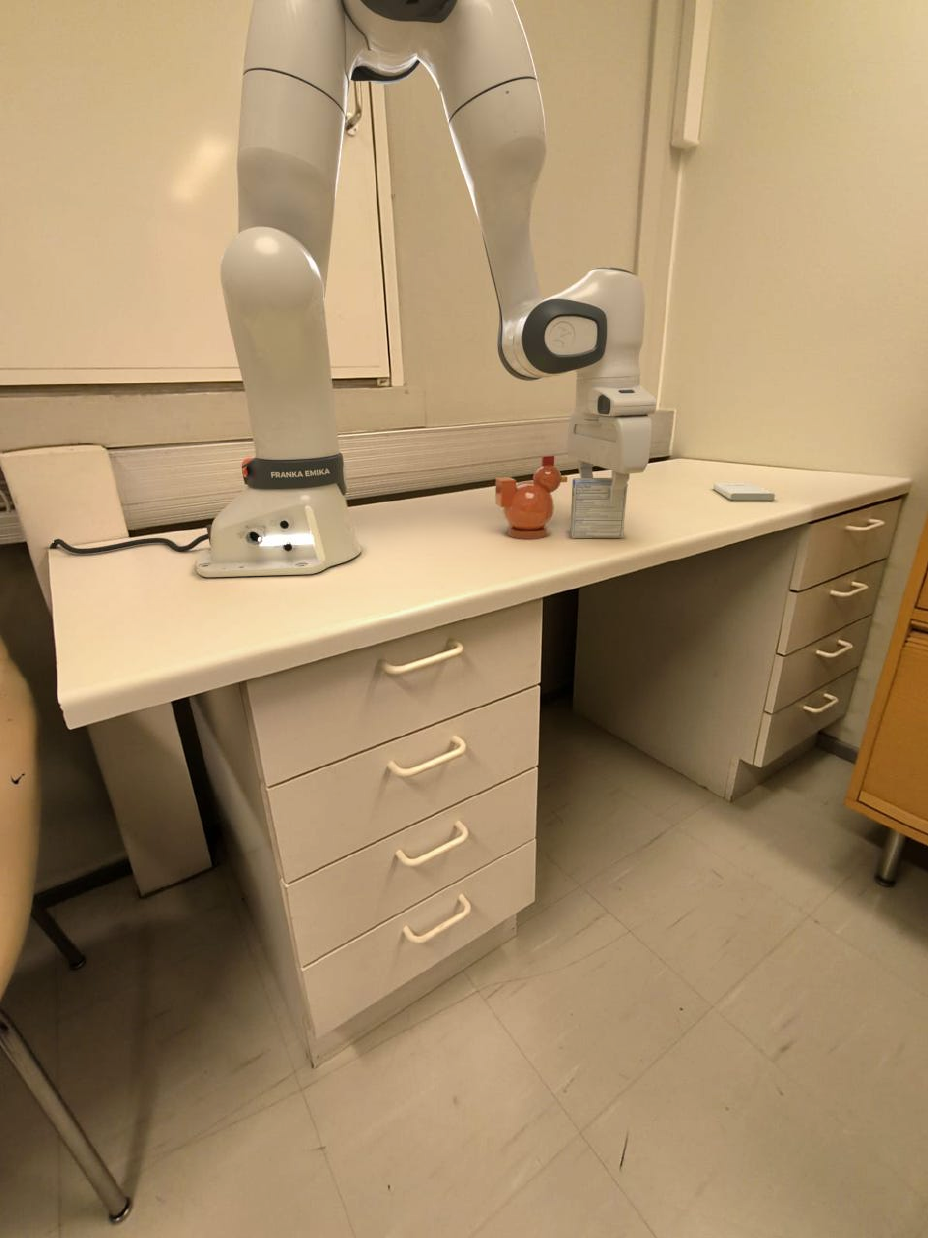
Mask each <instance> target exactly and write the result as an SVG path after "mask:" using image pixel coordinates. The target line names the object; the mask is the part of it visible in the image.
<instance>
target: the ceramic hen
mask: <svg viewBox="0 0 928 1238" xmlns="http://www.w3.org/2000/svg"><path fill="white" fill-rule="evenodd" d="M562 483H568V476H566V475H562V473H561V472H560V469H559V468H558V467H556V466H555V455H554V454H553V455H541V464H540V466H539V467H537V469H536V470H535V471H534V473H533V476H532V480H525V481H521V482H518V483H517V479H515V478H513V477H511V476H503V477H495V489H494V491H495V496H494V497H495V499H494V500H495V502H494V503H495V504H496V505H497V506H499V507H500V508H502V509H503V510H502V511H503V515H504V517H505V520H506V522H507V523H508V524H509V525H508V526H507V535H508V536H509V537H511V538H514V539H521V540H536V539H542V538H545V537H547V536H548V534H549V526H548V523H549V522H550V520H551V519H552V517H553V514H554V510H555V503H554V499H553V496H552V494H551V493H553V492H556V490H558V489H559V487H560V485H561V484H562Z"/></svg>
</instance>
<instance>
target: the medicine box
mask: <svg viewBox="0 0 928 1238" xmlns="http://www.w3.org/2000/svg"><path fill="white" fill-rule="evenodd" d="M612 481H613V478H612V477H593V478H581V477H574V478H572V484H571V485H572V486H571V487H572V488H571V505H570V508H571V509H570V529H569V530H570V534H571V538H572V539H577V538H578V539H579V538H581V539H583V538H585V539H588V538H590V539H591V538H593V539H594V538H597V539H598V538H599V539H601V538H605V539H606V538H609V539H610V538H611V539H612V538H613V539H614V538H615V539H616V538H617V539H619V538H621V539H622V538H623V537H624V529H625V528H624V527H625V518H626V517H625V516H626V509H627V508H626V507H627V495H628V486H629V484H628V483H627V484H626V486H625V488H624V491H623V499H622V501H620V502H612V501H610V500H608V498H607V496H608V488H611V485H612Z"/></svg>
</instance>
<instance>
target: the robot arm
mask: <svg viewBox="0 0 928 1238" xmlns="http://www.w3.org/2000/svg"><path fill="white" fill-rule="evenodd" d="M243 58H244V59H243V70H242V78H241V79H242V80H241V81H242V82H241V96H240V109H239V111H240V112H239V125H238V126H239V128H238V140H237V154H236V155H237V156H236V176H237V214H238V215H237V219H238V220H237V222H238V223H237V224H238V225H237V227H238V228H237V234H236V235H235V236H234V237H233V238H232V239H231V240H230V241H229V243H228V244H227V245H226V248H225V249H224V252H223V254H222V257H221V262H220V272H219V274H220V277H219V278H220V284H221V285H220V286H221V290H222V295H223V300H224V306H225V310H226V314H227V319H228V324H229V329H230V333H231V338H232V339H231V340H232V342H233V347H234V352H235V356H236V360H237V364H238V368H239V372H240V376H241V380H242V385H243V389H244V393H245V398H246V402H247V403H246V404H247V408H248V409H247V410H248V416H249V421H250V422H249V423H250V428H251V435H252V440H253V446H254V453H255V457H246V458H245V459H244V460H243V461H242V462H241V472H242V479H243V483H244V485H246V487H245V488H243V490H242V491H240V493H238V494H237V495H236V496H235V497H234V498H233V499H232V500H230V502H229V503H228V504H226V506H225V507H224V508H223V509H222V510H221V511H220V512H219V513H218V514H217V515H216V516H215V517H214V519H213V521H212V522H211V523H212V524H207V525H205V528H206V532H207V533H205V534H203V535H200V536H198V537H197V538H195V539H194V540H193V541H192V542H190V543H189V544H186V545H181V546H180V545H177V544H176V543H175V542H174V541H173V540H171V539H169V538H165V537H147V538H141V539H134V540H129V541H124V542H119V543H115V544H108V545H104V546H96V547H89V548H87V547H86V548H85V547H84V548H79V547H74V546H71V545H70V544H68V543H67V542H65V541H64V540H63V539H60V538H56V539H54V540H53V541H54V543H52V542H51V544H50V546H49V549H50V550H55V549H57V548H58V546H60V547H61V548H62V549H64V550H65V551H67V552H70V553H72V554H75V555H76V554H77V555H91V554H92V555H93V554H100V553H106V552H110V551H115V550H116V551H117V550H120V549H125V548H130V547H136V546H141V545H147V544H166V545H168V546H169V547H170V548H171V549H172V550H173V551H175V552H178V553H179V552H180V553H183V552H187V551H190V550H193V549H194V548H195V547H197V546H198V545H199V544H201V543H202V542H204V541H207V540H208V543H209V546H210V548H208V549H206V550H204V552H202V553H201V554H200V555H199V557H198V558H197V560H196V564H195V565H196V572H197V574H199V576H201V577H204V578H226V577H227V578H228V577H230V578H231V577H255V576H256V577H259V576H260V577H261V576H263V577H264V576H290V575H291V576H293V575H295V576H296V575H313V574H317V573H320V572H322V571H324V570H326V569H328V568H330V567H333V566H337V565H339V564H342V563H345V562H347V561H350V560H353V559H354V558H356V557H358V556H359V555H360V554H361V552H362V548H361V546H360V543H359V542H358V539H357V535H356V533H355V530H354V526H353V522H352V519H351V515H350V511H349V505H348V503H347V496H346V494H347V490H348V483H347V481H348V480H347V471H346V470H347V469H346V464H345V460H344V456H343V453H342V452H340V443H339V435H338V425H337V416H336V406H335V397H334V387H333V386H334V385H333V378H332V368H331V358H330V348H329V340H328V330H327V329H328V328H327V320H326V319H327V318H326V310H325V309H326V308H325V301H326V291H327V281H328V273H329V264H330V253H331V247H332V246H331V245H332V237H333V236H332V235H333V227H334V218H335V208H336V200H337V199H336V198H337V191H338V190H337V189H338V182H339V175H340V167H341V166H340V165H341V158H342V148H343V141H344V133H345V124H346V116H347V106H348V97H349V90H350V85H351V84H350V83H351V81H352V82H357V83H358V82H371V83H374V84H377V85H394V84H397V83H401V82H403V81H404V80H406V79H407V78H408V77H410V76H411V75H413V73H414V71H415V70H416V69H417V68H418V66H419V65H420V63H421V64H422V65H423V66H424V67H425V69H427V71H428V72H429V74H430V75H431V77H432V78H433V80H434V82H435V85H436V87H437V89H438V91H439V93H440V95H441V99H442V103H443V104H442V105H443V109H444V112H445V113H444V114H445V116H446V121H447V124H448V128H449V132H450V135H451V139H452V142H453V146H454V149H455V152H456V156H457V159H458V162H459V165H460V168H461V171H462V174H463V176H464V180H465V183H466V186H467V188H468V191H469V194H470V195H469V196H470V198H471V201H472V204H473V208H474V212H475V214H476V218H477V220H478V223H479V227H480V230H481V234H482V238H483V244H484V248H485V252H486V257H487V261H488V266H489V270H490V274H491V279H492V284H493V288H494V291H495V296H496V301H497V306H498V313H499V314H498V316H499V318H498V330H497V340H496V341H497V343H496V344H497V345H496V346H497V347H496V348H497V353H498V354H497V355H498V357H499V360H500V363H501V364H502V366H503V368H504V369H505V370H506V372H508V373H509V374H510V375H511V376H512V377H514V378H516V379H518V380H521V381H527V382H529V381H530V382H533V381H538V380H540V379H544V378H551V377H552V378H553V377H558V376H559V377H560V376H562V375H564V374H567V373H569V372H572V371H574V372H575V373H576V380H575V381H576V385H575V407H574V411H572V412H571V414H570V418H569V421H568V428H567V439H566V440H567V441H566V452H567V456H568V458H570V459H572V460H576V461H577V467H578V468H577V469H578V473H579V478H594V474H593V467H594V466H596V467H600V468H603V469H606V470H609V471H611V477H610V478H613V481H612V485H611V488H608V496H607V498H608V500H610V501H612V502H620V501H622V499H623V491H624V488H625V486H626V484H628V482H629V480H630V474H640V473H641V474H642V473H643V472H644V471H645V469H646V468H647V466H648V464H649V461H650V456H651V455H650V453H651V449H652V448H651V447H652V438H653V437H652V436H653V422H652V421H653V420H652V419H651V417H650V415H653V414H655V413H656V410H657V398H656V397H655V395H653V394H651V393H650V392H648V390H646V389H645V388H644V387H643V385H641V384H640V380H641V370H640V365H639V364H640V363H639V357H640V353H641V349H642V346H643V343H644V332H645V313H646V311H645V309H646V307H645V303H646V302H645V291H644V285H643V282H642V280H641V278H640V277H639V276H638V275H637V274H635V273H634V272H632V271H630V270H626V269H623V268H617V267H597V268H594V269H591V270H589V271H587V273H586V274H585V276H583V277H582V278H581V279H579V280H578V281H577V282H575V283H573V284H572V285H570V286H568V287H567V288H565V289H564V290H562V291H559V292H558V293H556V294H554V295H551V296H549V297H546V298H544V299H543V296H542V293H541V290H540V283H539V277H538V273H537V267H536V262H535V257H534V252H533V247H532V241H531V234H530V233H531V232H530V231H531V230H530V222H531V219H530V218H531V213H532V212H531V211H532V207H533V202H534V198H535V195H536V190H537V188H538V184H539V181H540V178H541V176H542V172H543V170H544V166H545V162H546V159H547V132H546V120H545V119H546V118H545V111H544V104H543V100H542V94H541V90H540V85H539V82H538V76H537V73H536V68H535V64H534V61H533V56H532V52H531V49H530V46H529V42H528V39H527V35H526V33H525V29H524V26H523V23H522V21H521V17H520V15H519V13H518V9H517V7H516V4H515V2H514V0H253V3H252V8H251V12H250V17H249V23H248V29H247V34H246V43H245V50H244V57H243Z"/></svg>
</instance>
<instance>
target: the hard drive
mask: <svg viewBox="0 0 928 1238" xmlns="http://www.w3.org/2000/svg"><path fill="white" fill-rule="evenodd" d="M712 488H713V490H715V492H717V493H719V494H720V495H721V496H723V497H724V498H727V499H728V500H729V501H732V502H773V501H775V497H776V493H774V492H772V491H769V490H767V489H766V488H763V487H761V486H759V485H757V484H756V483H753V482H714V483H713V487H712Z"/></svg>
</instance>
